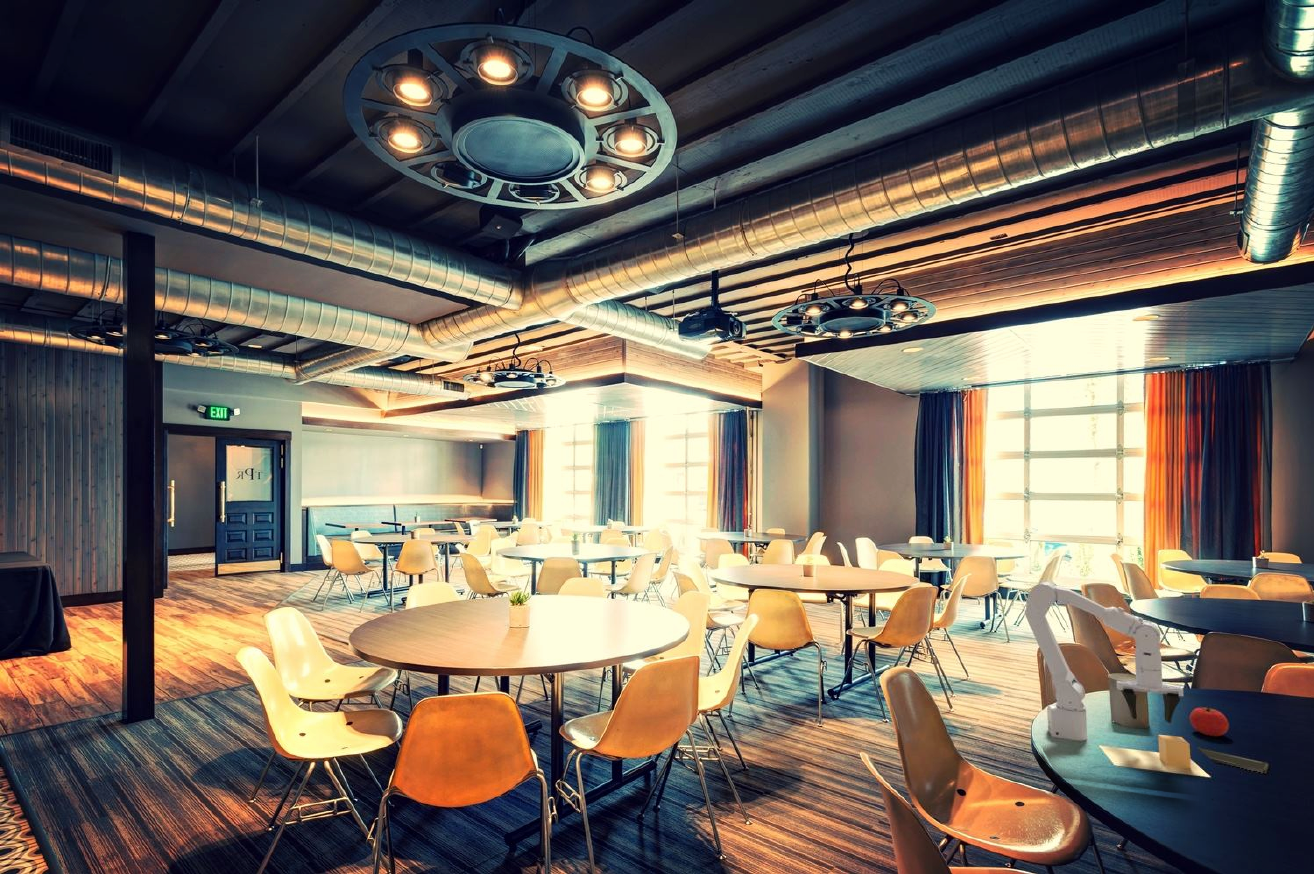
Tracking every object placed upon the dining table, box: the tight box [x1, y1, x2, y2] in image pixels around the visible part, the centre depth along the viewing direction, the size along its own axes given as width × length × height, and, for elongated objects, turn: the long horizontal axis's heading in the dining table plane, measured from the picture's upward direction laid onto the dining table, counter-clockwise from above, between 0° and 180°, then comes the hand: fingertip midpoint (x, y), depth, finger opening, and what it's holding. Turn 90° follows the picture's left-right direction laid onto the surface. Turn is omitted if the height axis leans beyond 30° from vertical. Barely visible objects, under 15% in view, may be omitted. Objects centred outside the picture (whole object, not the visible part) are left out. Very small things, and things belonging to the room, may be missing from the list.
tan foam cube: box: [1157, 734, 1191, 769], centre depth 169 cm, size 5×5×6 cm
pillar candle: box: [1107, 673, 1150, 729], centre depth 202 cm, size 10×10×15 cm
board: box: [1098, 745, 1211, 778], centre depth 171 cm, size 20×14×4 cm
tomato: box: [1189, 706, 1230, 737], centre depth 193 cm, size 9×9×8 cm
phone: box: [1196, 746, 1269, 774], centre depth 173 cm, size 8×1×15 cm
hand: (1150, 719), depth 177 cm, fingers open, 7 cm apart
